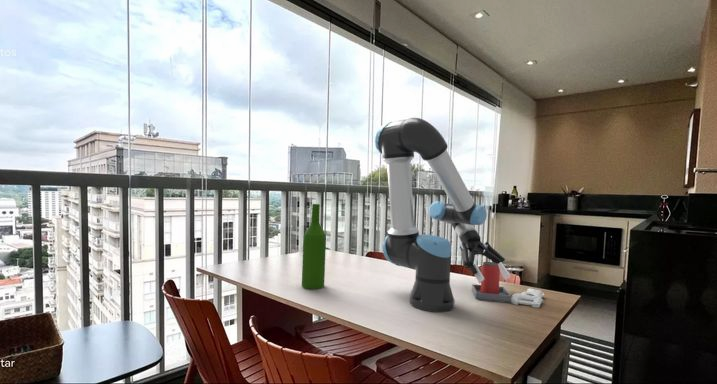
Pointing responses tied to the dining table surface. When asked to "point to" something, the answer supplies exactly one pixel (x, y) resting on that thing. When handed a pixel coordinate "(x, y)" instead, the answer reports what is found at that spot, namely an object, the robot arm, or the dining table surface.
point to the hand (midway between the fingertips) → (495, 279)
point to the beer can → (490, 278)
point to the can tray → (491, 295)
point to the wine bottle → (314, 253)
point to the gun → (528, 298)
